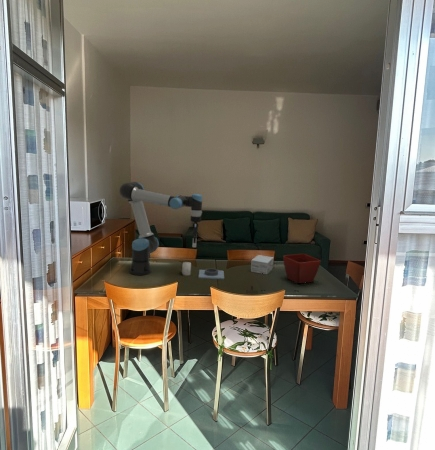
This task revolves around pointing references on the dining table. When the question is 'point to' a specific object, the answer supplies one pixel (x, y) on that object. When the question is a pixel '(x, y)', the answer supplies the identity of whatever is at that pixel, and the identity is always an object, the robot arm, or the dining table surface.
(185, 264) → the plug cap
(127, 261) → the dining table surface
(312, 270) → the plant pot
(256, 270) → the supplement box
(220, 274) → the barrel board
